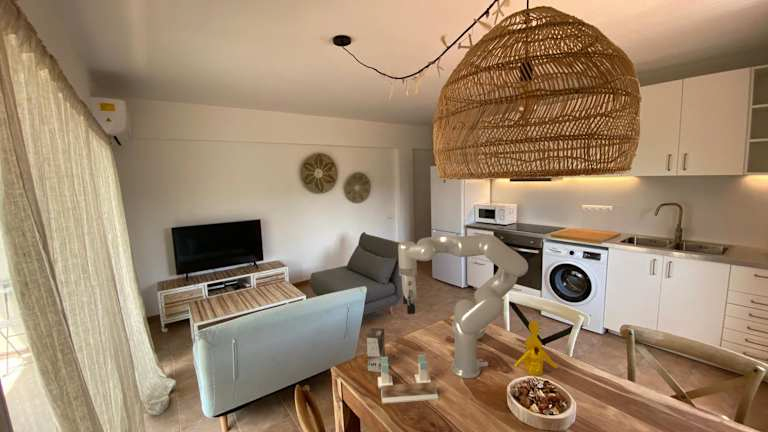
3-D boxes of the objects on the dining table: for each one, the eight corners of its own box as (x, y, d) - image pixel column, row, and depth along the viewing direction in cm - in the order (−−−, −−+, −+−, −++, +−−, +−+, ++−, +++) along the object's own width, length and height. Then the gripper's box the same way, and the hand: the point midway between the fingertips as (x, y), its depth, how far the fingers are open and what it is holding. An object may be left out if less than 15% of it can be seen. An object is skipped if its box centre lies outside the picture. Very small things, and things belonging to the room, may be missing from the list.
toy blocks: (428, 375, 135) (428, 353, 133) (431, 384, 129) (431, 362, 127) (414, 376, 134) (414, 354, 133) (417, 385, 128) (416, 363, 127)
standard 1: (391, 377, 134) (391, 356, 132) (392, 387, 128) (392, 365, 126) (377, 378, 133) (377, 357, 132) (378, 388, 127) (377, 366, 126)
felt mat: (434, 386, 127) (434, 385, 127) (438, 399, 120) (438, 398, 120) (381, 390, 126) (381, 389, 126) (382, 403, 119) (381, 402, 119)
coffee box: (381, 372, 137) (380, 338, 135) (367, 371, 139) (366, 337, 136) (385, 360, 146) (384, 328, 144) (372, 358, 147) (371, 327, 145)
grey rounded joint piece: (486, 332, 168) (487, 319, 167) (483, 348, 153) (483, 335, 152) (455, 326, 175) (455, 314, 174) (448, 341, 160) (448, 328, 159)
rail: (435, 388, 125) (435, 381, 125) (436, 393, 122) (436, 387, 122) (381, 392, 124) (381, 385, 124) (382, 397, 121) (382, 391, 121)
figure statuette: (515, 376, 132) (517, 328, 129) (510, 364, 140) (511, 318, 137) (559, 377, 131) (562, 328, 127) (551, 365, 138) (554, 319, 135)
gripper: (421, 276, 124) (422, 317, 127) (412, 264, 141) (413, 299, 144) (402, 278, 124) (403, 318, 126) (396, 265, 141) (397, 301, 143)
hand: (409, 308), depth 135 cm, fingers open, 9 cm apart
